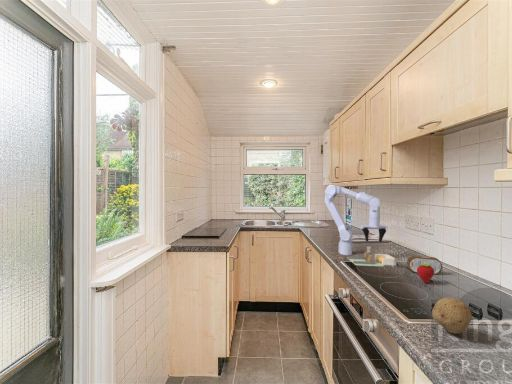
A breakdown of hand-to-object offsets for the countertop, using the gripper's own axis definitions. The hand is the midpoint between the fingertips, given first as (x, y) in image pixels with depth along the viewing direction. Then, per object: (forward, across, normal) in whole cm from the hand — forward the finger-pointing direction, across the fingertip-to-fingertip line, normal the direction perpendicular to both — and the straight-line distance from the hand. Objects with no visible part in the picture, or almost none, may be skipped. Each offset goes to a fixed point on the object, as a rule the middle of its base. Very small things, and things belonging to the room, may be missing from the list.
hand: (373, 241), depth 160 cm
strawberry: (+11, +8, -39) cm, 41 cm away
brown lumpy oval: (+11, -9, -82) cm, 83 cm away
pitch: (+10, -5, -11) cm, 16 cm away
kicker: (+9, -6, -11) cm, 16 cm away
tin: (+11, +16, -24) cm, 31 cm away
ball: (+8, +1, -11) cm, 14 cm away
